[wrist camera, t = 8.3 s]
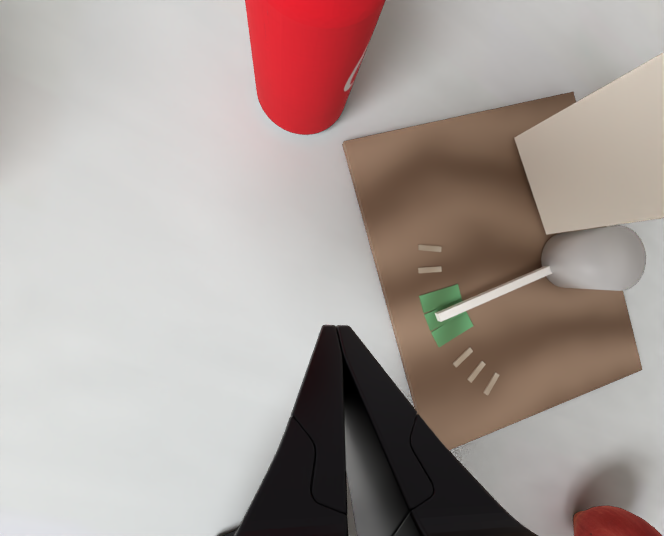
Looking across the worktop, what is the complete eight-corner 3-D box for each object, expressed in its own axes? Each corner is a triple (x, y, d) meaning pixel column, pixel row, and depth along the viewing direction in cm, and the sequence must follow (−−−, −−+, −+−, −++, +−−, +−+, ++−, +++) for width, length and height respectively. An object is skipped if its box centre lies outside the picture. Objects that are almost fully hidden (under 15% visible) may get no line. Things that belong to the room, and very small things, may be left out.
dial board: (634, 367, 27) (643, 370, 26) (427, 453, 24) (431, 458, 23) (566, 95, 26) (574, 91, 25) (342, 144, 23) (344, 140, 22)
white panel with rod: (595, 276, 25) (852, 279, 14) (444, 344, 23) (605, 414, 12) (546, 126, 25) (772, 3, 13) (386, 181, 22) (497, 87, 11)
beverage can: (358, 85, 23) (442, -111, 11) (318, 155, 23) (362, 27, 11) (283, 35, 22) (289, -234, 10) (240, 107, 22) (193, -91, 10)
